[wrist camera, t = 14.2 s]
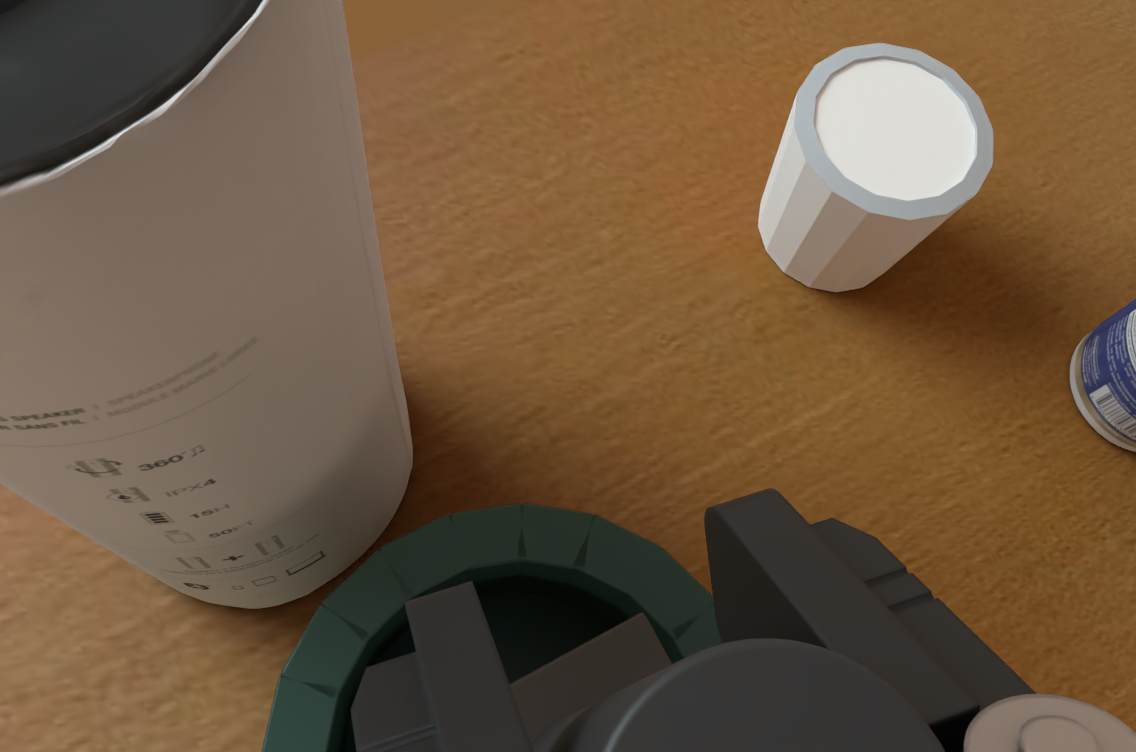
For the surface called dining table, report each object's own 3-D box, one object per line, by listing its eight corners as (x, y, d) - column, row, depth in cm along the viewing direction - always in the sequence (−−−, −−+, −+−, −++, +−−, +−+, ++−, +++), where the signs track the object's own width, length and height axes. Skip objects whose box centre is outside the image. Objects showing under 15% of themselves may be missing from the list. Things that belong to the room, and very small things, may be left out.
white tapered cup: (899, 153, 42) (978, 43, 36) (924, 308, 40) (1013, 219, 33) (734, 150, 42) (784, 37, 35) (750, 306, 39) (806, 216, 33)
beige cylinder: (421, 320, 38) (332, -469, 14) (418, 607, 34) (286, 237, 10) (122, 319, 37) (-552, -533, 13) (86, 616, 33) (-952, 226, 9)
